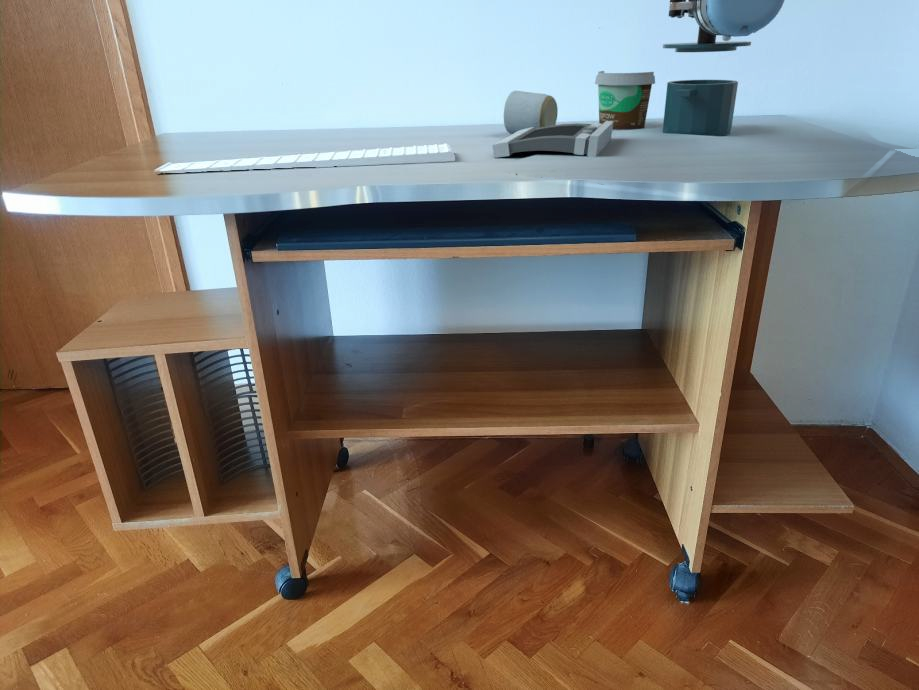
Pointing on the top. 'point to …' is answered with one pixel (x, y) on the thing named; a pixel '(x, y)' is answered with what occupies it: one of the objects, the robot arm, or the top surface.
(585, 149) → the grey curved frame
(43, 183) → the top surface
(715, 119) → the pot
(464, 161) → the top surface
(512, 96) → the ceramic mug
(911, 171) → the top surface
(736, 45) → the lid
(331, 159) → the keyboard
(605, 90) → the food container
